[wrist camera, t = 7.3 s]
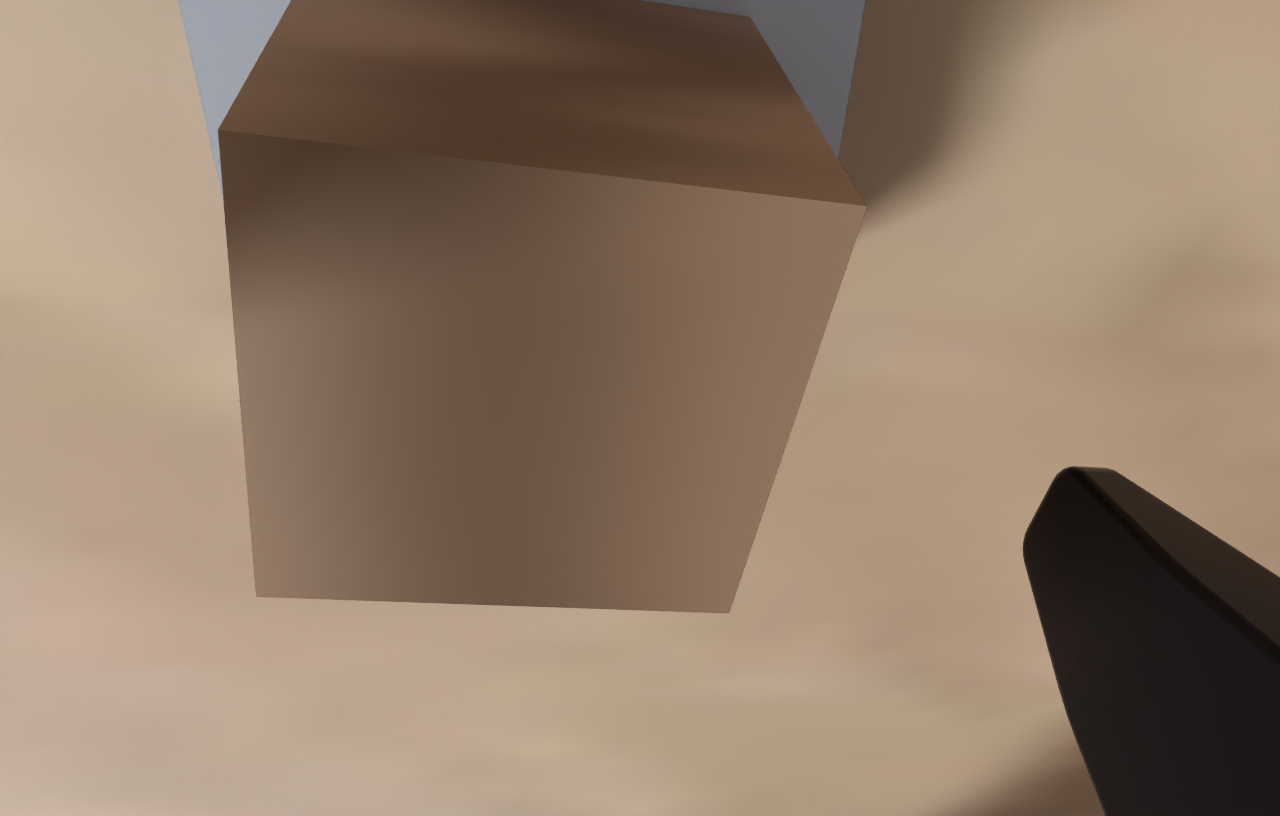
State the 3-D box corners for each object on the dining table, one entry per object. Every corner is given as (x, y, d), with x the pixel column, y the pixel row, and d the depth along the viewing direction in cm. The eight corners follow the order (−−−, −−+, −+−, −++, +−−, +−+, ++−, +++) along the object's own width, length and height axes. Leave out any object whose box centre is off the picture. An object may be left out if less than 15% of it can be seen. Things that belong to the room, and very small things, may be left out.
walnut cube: (749, 16, 12) (866, 205, 8) (670, 355, 15) (729, 613, 11) (318, -49, 11) (217, 130, 7) (325, 325, 14) (256, 596, 10)
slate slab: (808, -213, 14) (894, -171, 11) (747, 279, 19) (794, 406, 16) (222, -237, 13) (133, -197, 10) (314, 285, 18) (273, 422, 15)
